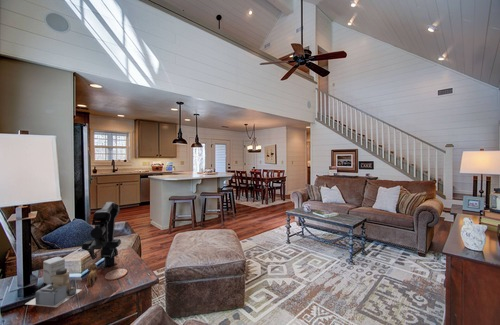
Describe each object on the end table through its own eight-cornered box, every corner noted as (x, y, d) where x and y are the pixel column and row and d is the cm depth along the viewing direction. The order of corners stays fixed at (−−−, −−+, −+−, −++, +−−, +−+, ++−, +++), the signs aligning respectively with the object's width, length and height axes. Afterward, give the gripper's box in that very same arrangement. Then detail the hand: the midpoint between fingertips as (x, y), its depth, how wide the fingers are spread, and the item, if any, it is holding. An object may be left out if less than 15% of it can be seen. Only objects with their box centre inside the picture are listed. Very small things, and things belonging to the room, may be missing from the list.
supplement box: (42, 282, 125) (42, 261, 125) (58, 276, 132) (58, 255, 132) (49, 286, 122) (49, 263, 122) (65, 279, 129) (65, 258, 129)
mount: (53, 289, 120) (53, 274, 119) (82, 291, 118) (82, 277, 118) (24, 306, 106) (24, 290, 105) (56, 309, 104) (56, 293, 104)
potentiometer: (71, 291, 116) (71, 285, 116) (78, 292, 116) (78, 285, 116) (65, 295, 112) (65, 289, 112) (71, 296, 112) (71, 289, 112)
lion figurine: (86, 277, 131) (86, 262, 131) (97, 275, 135) (97, 260, 134) (86, 289, 120) (86, 273, 119) (98, 286, 123) (98, 270, 123)
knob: (61, 290, 116) (61, 267, 116) (69, 291, 115) (69, 268, 115) (52, 296, 112) (52, 272, 111) (61, 296, 111) (61, 272, 111)
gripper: (76, 238, 119) (76, 266, 120) (114, 236, 123) (114, 263, 124) (86, 231, 130) (86, 257, 130) (121, 229, 134) (121, 254, 135)
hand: (101, 258), depth 130 cm, fingers open, 9 cm apart
